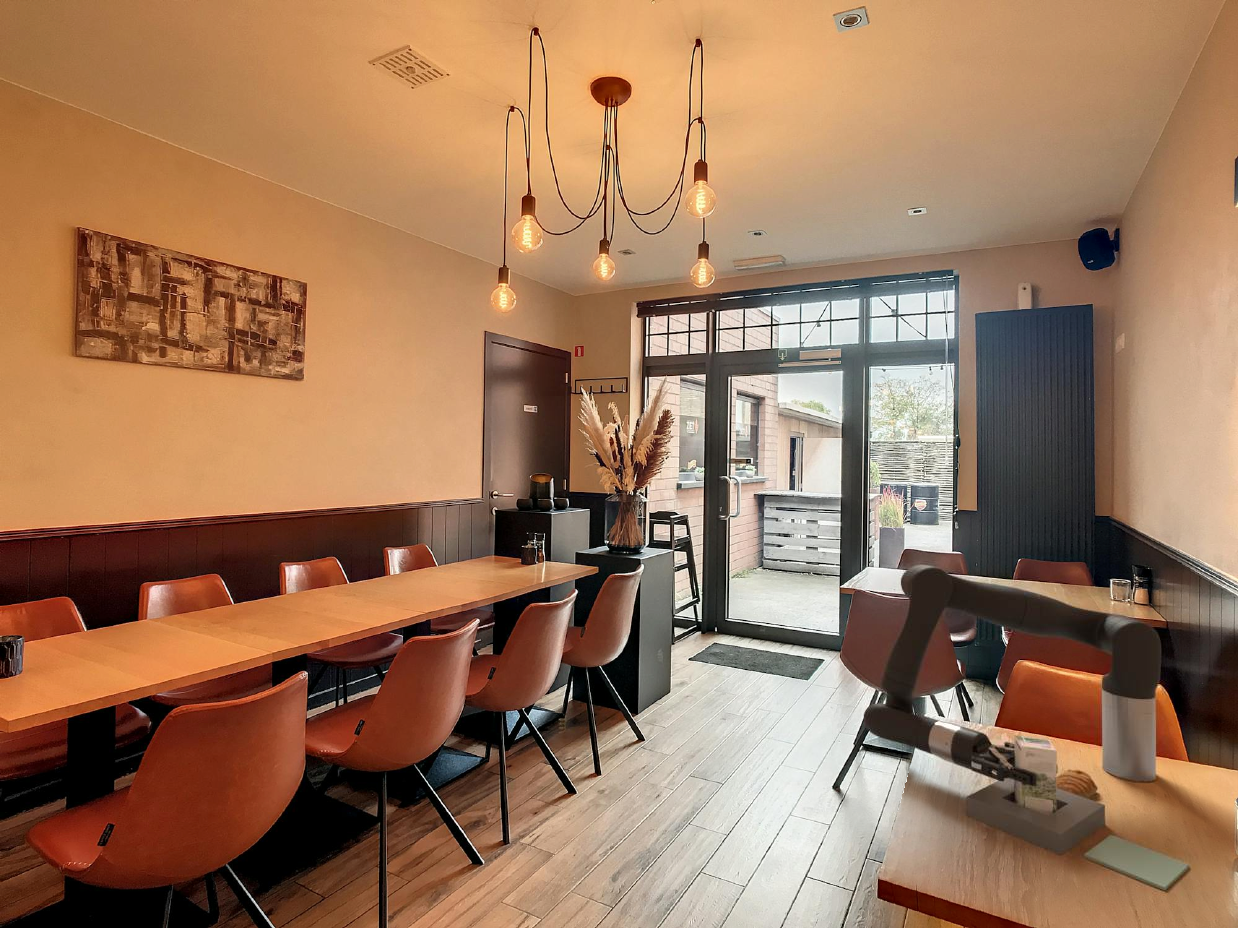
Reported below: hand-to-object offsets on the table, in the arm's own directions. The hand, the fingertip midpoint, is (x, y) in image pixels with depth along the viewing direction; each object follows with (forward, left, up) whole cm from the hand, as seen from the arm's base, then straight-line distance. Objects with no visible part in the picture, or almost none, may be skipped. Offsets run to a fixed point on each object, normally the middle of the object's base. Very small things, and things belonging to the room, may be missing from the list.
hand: (1046, 774), depth 124 cm
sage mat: (+1, +14, -9) cm, 17 cm away
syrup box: (0, -2, -9) cm, 9 cm away
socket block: (0, -2, -9) cm, 9 cm away
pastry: (-19, -3, -10) cm, 21 cm away
